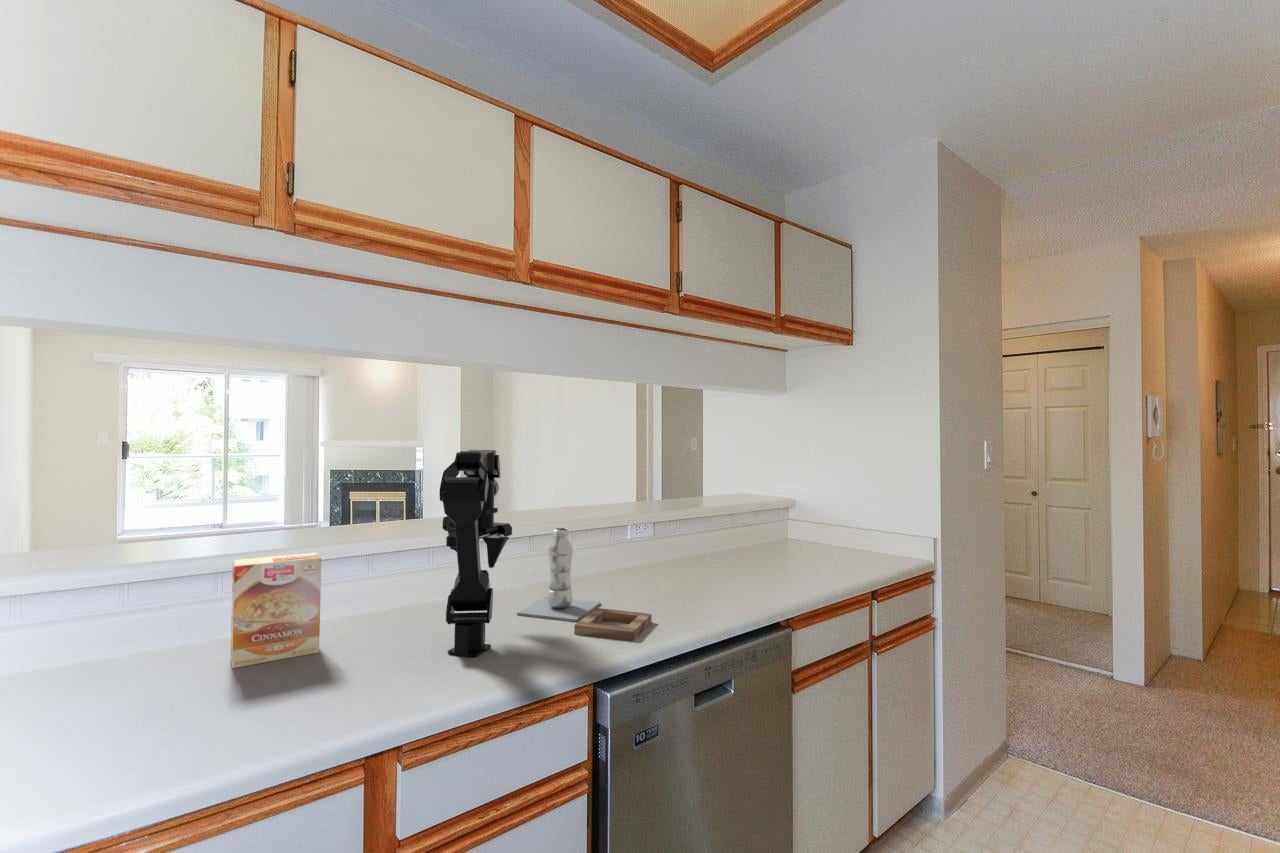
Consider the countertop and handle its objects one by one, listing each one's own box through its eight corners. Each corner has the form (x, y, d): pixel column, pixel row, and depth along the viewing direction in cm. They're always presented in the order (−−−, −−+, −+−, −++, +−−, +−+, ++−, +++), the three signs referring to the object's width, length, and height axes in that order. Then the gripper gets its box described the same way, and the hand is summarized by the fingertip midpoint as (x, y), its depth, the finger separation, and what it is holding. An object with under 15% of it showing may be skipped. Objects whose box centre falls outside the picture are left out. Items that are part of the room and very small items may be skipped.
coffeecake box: (231, 669, 114) (233, 565, 114) (229, 657, 120) (231, 559, 120) (320, 653, 123) (322, 556, 123) (315, 643, 128) (316, 551, 129)
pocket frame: (633, 640, 132) (633, 631, 132) (574, 633, 136) (574, 624, 136) (651, 622, 145) (651, 613, 145) (597, 616, 150) (597, 608, 150)
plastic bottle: (574, 604, 158) (575, 527, 158) (569, 611, 151) (570, 531, 151) (550, 603, 158) (551, 526, 158) (544, 610, 152) (545, 530, 152)
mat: (576, 621, 145) (576, 619, 145) (516, 615, 150) (516, 612, 150) (600, 604, 160) (600, 601, 160) (546, 598, 165) (546, 596, 165)
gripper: (473, 498, 151) (473, 561, 151) (425, 507, 133) (424, 578, 133) (513, 500, 147) (512, 564, 147) (469, 509, 130) (468, 582, 129)
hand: (480, 571), depth 139 cm, fingers open, 9 cm apart
